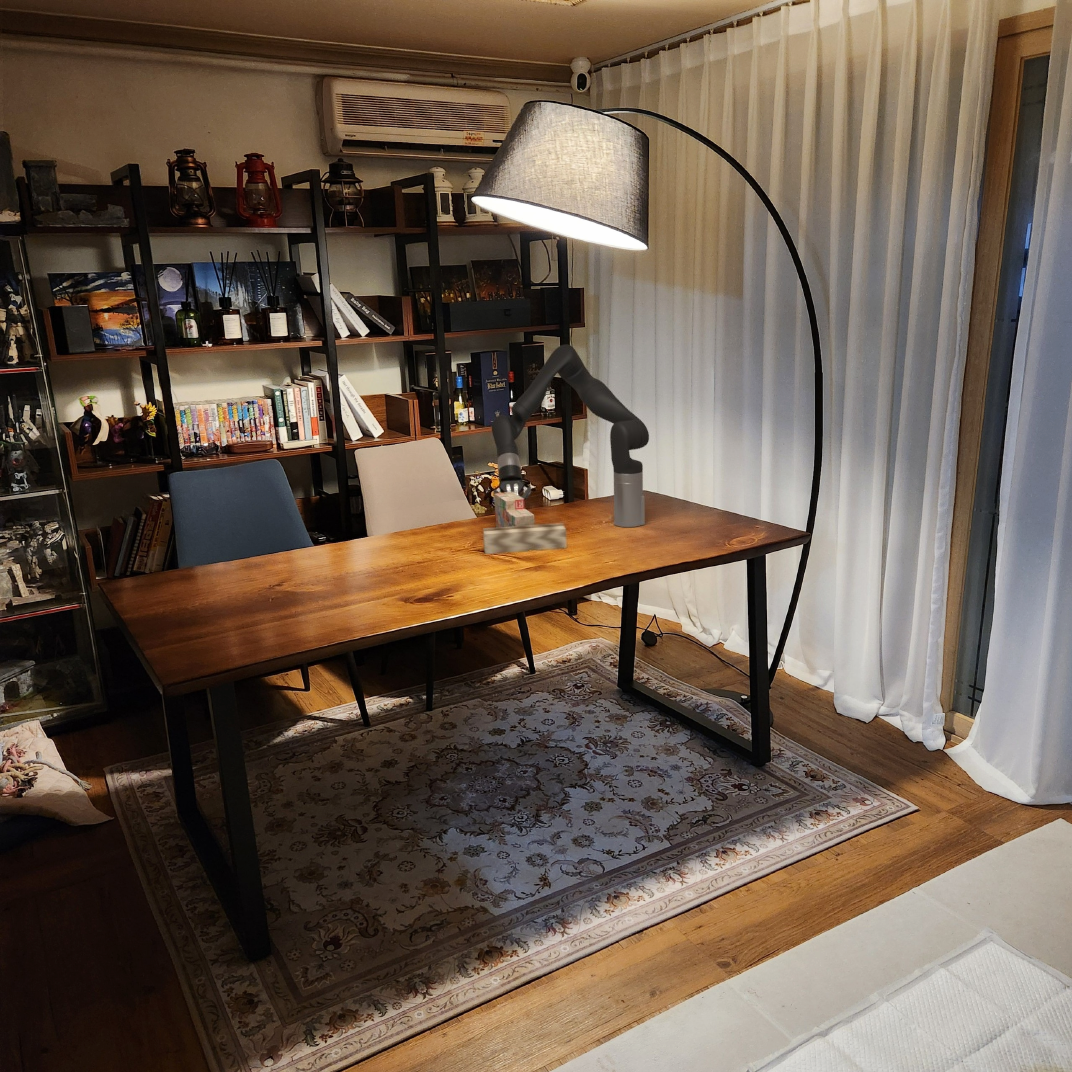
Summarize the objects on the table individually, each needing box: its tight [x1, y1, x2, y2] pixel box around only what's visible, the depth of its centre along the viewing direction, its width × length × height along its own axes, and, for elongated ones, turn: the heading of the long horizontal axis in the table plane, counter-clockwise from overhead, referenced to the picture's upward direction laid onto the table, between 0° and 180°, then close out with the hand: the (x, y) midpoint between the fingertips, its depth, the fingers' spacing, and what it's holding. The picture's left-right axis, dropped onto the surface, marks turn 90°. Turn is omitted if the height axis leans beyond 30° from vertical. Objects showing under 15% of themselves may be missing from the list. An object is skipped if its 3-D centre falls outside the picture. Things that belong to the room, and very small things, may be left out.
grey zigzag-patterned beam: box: [482, 522, 567, 555], centre depth 272 cm, size 24×5×7 cm, turn 98°
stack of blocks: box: [493, 492, 536, 528], centre depth 284 cm, size 21×6×12 cm, turn 19°
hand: (514, 515), depth 296 cm, fingers closed
